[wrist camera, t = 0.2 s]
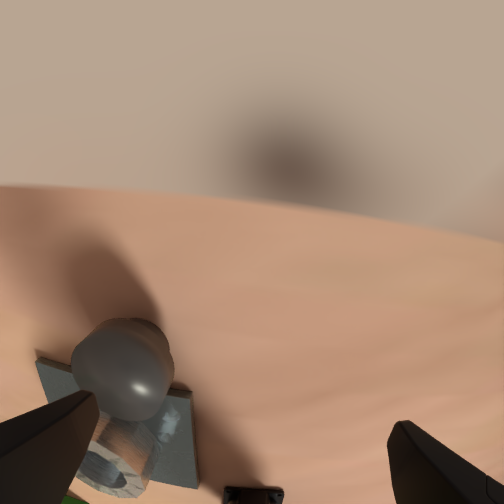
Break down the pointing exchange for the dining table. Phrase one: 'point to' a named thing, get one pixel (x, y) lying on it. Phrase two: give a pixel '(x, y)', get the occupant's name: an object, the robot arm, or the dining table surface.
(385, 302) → the dining table surface
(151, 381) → the dark grey rounded lump
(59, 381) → the square base plate
